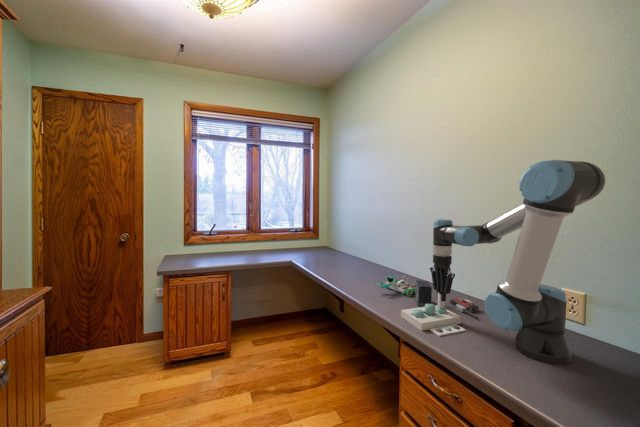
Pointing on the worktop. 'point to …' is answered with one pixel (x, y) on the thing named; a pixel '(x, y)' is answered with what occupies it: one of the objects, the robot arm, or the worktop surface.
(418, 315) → the button
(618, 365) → the worktop surface
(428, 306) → the button
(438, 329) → the pattern card
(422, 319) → the board
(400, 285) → the robot kit
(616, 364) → the worktop surface
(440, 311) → the button
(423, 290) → the small box
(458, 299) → the walkie-talkie
